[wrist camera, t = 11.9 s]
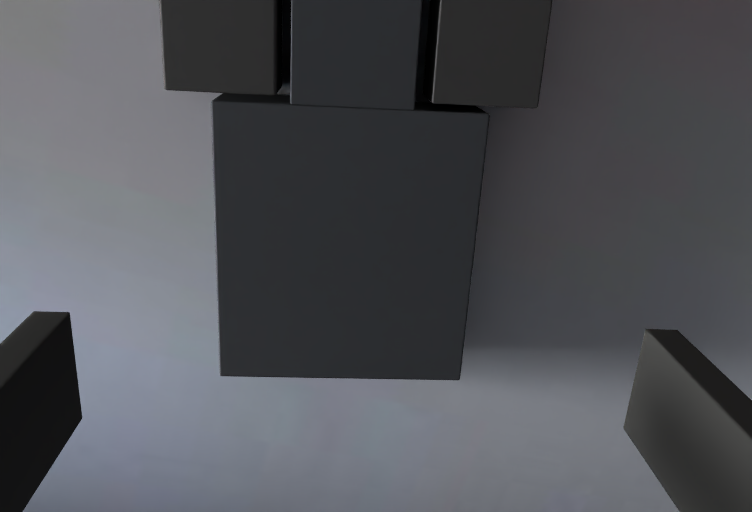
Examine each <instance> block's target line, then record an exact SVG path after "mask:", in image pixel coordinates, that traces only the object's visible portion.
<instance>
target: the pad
mask: <svg viewBox="0 0 752 512" xmlns="http://www.w3.org/2000/svg"><path fill="white" fill-rule="evenodd" d="M421 13H422V0H291V81H290V95H256V94H236V93H223V94H221V95H220V96H218V97H217V98H215V99H214V100H213V101H212V102H211V115H212V146H213V178H214V210H215V241H216V273H217V304H218V336H219V368H220V376H245V377H303V378H361V379H420V380H459V379H460V373H461V365H462V356H463V347H464V338H465V329H466V321H467V312H468V303H469V294H470V285H471V276H472V268H473V259H474V250H475V241H476V232H477V224H478V215H479V206H480V197H481V188H482V179H483V171H484V162H485V153H486V144H487V135H488V127H489V118H490V115H489V114H488V113H486V112H485V111H483V110H482V109H480V108H479V107H477V106H475V105H455V104H435V103H432V102H415V94H416V80H417V67H418V53H419V40H420V26H421Z"/></svg>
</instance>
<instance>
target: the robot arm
mask: <svg viewBox="0 0 752 512" xmlns="http://www.w3.org/2000/svg"><path fill="white" fill-rule="evenodd" d="M81 419H82V412H81V404H80V396H79V387H78V379H77V371H76V362H75V354H74V346H73V337H72V329H71V320H70V312H38V311H34V312H33V313H32V314H31V315H30V316H29V317H28V318H26V319H25V320H24V321H23V322H22V323H21V324H20V325H19V326H18V327H17V328H16V329H15V330H14V331H13V332H12V333H11V334H10V335H9V336H8V337H7V338H6V339H5V340H4V341H3V342H2V343H1V344H0V512H23V510H24V508H25V507H26V505H27V504H28V502H29V501H30V499H31V497H32V496H33V494H34V493H35V491H36V490H37V488H38V487H39V485H40V483H41V482H42V480H43V479H44V477H45V476H46V474H47V472H48V471H49V469H50V468H51V466H52V465H53V463H54V462H55V460H56V458H57V457H58V455H59V454H60V452H61V451H62V449H63V447H64V446H65V444H66V443H67V441H68V440H69V438H70V437H71V435H72V433H73V432H74V430H75V429H76V427H77V426H78V424H79V422H80V421H81ZM624 430H625V431H626V433H627V434H628V436H629V437H630V439H631V440H632V442H633V443H634V445H635V446H636V448H637V449H638V451H639V452H640V454H641V455H642V456H643V458H644V459H645V461H646V462H647V464H648V465H649V467H650V468H651V470H652V471H653V473H654V474H655V476H656V477H657V479H658V480H659V482H660V483H661V485H662V486H663V488H664V489H665V491H666V492H667V494H668V495H669V497H670V498H671V499H672V501H673V502H674V504H675V505H676V507H677V508H678V510H679V511H680V512H752V400H751V399H749V398H748V397H747V396H746V395H745V394H744V393H743V392H742V391H741V390H740V389H739V388H738V387H737V386H736V385H735V384H734V383H733V382H732V381H731V380H729V379H728V378H727V377H726V376H725V375H724V374H723V373H722V372H721V371H720V370H719V369H718V368H717V367H716V366H715V365H714V364H713V363H712V362H711V361H709V360H708V359H707V358H706V357H705V356H704V355H703V354H702V353H701V352H700V351H699V350H698V349H697V348H696V347H695V346H694V345H693V344H692V343H691V342H689V341H688V340H687V339H686V338H685V337H684V336H683V335H682V334H681V333H680V332H679V331H678V330H665V329H645V334H644V338H643V343H642V347H641V352H640V356H639V361H638V365H637V370H636V374H635V379H634V383H633V388H632V392H631V397H630V401H629V406H628V410H627V415H626V419H625V424H624Z"/></svg>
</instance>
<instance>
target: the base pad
mask: <svg viewBox="0 0 752 512" xmlns="http://www.w3.org/2000/svg"><path fill="white" fill-rule="evenodd" d="M159 3H160V21H161V39H162V57H163V75H164V88H165V89H166V90H176V91H196V92H216V93H236V94H256V95H276V93H277V92H278V91H279V89H280V88H281V86H282V0H159ZM551 7H552V0H430V6H429V19H428V32H427V44H426V57H425V70H424V83H423V95H424V96H425V97H426V98H427V99H429V100H430V101H431V102H432V103H435V104H455V105H476V106H496V107H516V108H537V107H538V101H539V94H540V87H541V80H542V72H543V65H544V58H545V51H546V43H547V36H548V29H549V22H550V14H551Z"/></svg>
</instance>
